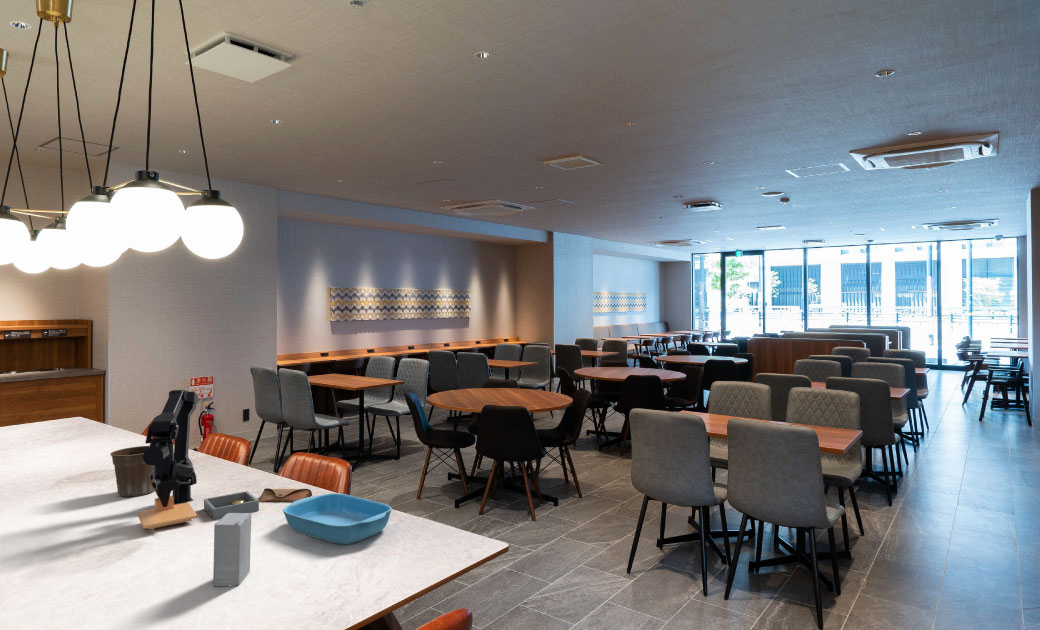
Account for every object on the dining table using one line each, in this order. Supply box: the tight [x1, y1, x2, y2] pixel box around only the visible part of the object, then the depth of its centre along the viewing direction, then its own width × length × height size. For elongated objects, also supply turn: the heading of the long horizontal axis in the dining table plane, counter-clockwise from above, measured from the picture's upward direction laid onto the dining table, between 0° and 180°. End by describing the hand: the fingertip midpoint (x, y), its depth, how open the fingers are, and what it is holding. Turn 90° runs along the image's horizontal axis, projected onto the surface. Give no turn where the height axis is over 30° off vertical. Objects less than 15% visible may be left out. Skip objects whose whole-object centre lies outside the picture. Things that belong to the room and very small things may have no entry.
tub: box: [203, 490, 260, 521], centre depth 205 cm, size 14×14×4 cm
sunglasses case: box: [258, 487, 313, 504], centre depth 216 cm, size 18×7×7 cm, turn 88°
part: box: [232, 499, 245, 505], centre depth 209 cm, size 4×4×2 cm
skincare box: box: [212, 512, 252, 587], centre depth 152 cm, size 8×7×16 cm
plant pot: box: [110, 445, 155, 498], centre depth 227 cm, size 16×16×16 cm
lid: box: [136, 495, 198, 530], centre depth 193 cm, size 15×15×5 cm
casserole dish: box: [282, 492, 393, 545], centre depth 187 cm, size 37×22×7 cm, turn 56°
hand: (164, 505), depth 197 cm, fingers closed on lid, 3 cm apart
